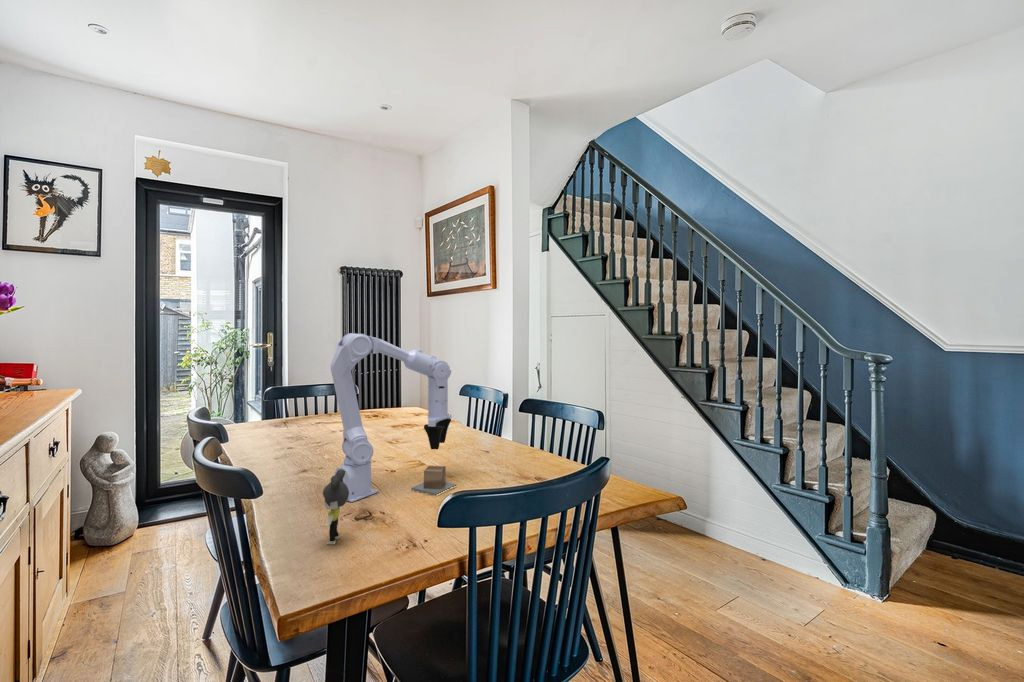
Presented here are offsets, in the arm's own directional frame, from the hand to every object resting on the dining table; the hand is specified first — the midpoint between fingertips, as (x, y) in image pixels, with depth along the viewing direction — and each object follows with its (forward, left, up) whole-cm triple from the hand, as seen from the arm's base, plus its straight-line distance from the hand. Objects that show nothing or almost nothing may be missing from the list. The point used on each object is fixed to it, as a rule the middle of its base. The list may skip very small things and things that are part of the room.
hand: (437, 445), depth 149 cm
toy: (-44, -8, -11) cm, 46 cm away
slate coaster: (-7, -4, -10) cm, 13 cm away
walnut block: (-6, -4, -10) cm, 12 cm away
